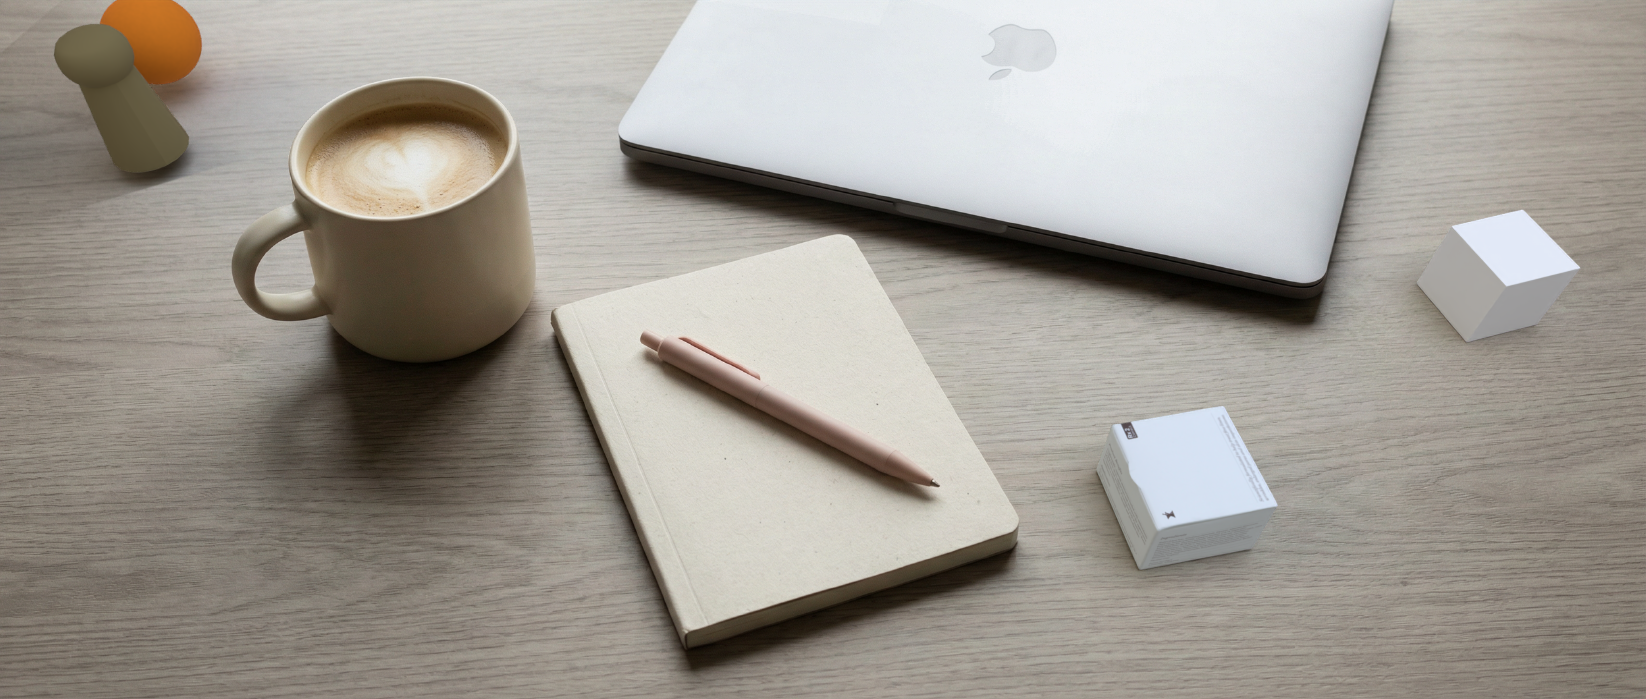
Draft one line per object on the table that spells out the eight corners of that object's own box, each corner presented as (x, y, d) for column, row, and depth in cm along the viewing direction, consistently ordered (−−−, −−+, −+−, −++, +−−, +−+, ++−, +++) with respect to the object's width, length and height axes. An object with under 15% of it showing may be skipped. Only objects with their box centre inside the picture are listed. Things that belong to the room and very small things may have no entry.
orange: (106, 95, 97) (60, 20, 91) (159, 43, 102) (118, -31, 96) (184, 108, 96) (142, 33, 90) (233, 55, 101) (197, -19, 95)
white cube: (1466, 342, 80) (1506, 286, 75) (1415, 283, 84) (1450, 226, 79) (1537, 324, 81) (1581, 267, 76) (1484, 266, 85) (1523, 208, 80)
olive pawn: (107, 137, 94) (36, 25, 85) (184, 116, 95) (121, 4, 87) (115, 181, 90) (41, 68, 82) (194, 158, 92) (130, 46, 83)
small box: (1255, 550, 69) (1282, 507, 65) (1136, 573, 68) (1156, 531, 64) (1204, 448, 74) (1226, 402, 70) (1092, 467, 73) (1107, 422, 69)
